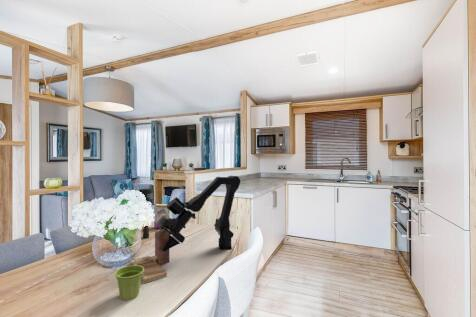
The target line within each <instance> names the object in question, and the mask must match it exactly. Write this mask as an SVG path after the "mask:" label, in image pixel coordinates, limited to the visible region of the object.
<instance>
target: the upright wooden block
mask: <svg viewBox="0 0 476 317" xmlns="http://www.w3.org/2000/svg"><path fill="white" fill-rule="evenodd" d="M168 240H169V232H168V231H166V230H161V231H160V230H157V231H155V232H154V255H152V256H151V255H150V257H147V256H146V257H147V258H143V259H139V260H136V264H137V265H138V264H142V263H146V262H149V261H153V260H154V261H155V262H156V263H157V264H158V265H159V266H161V265H165V264H168V263H170V249H168V250H166V251H165V252H163V251H162V250H163V248H164V246H165V245H166V243H167V242H168Z"/></svg>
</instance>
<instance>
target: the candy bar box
mask: <svg viewBox="0 0 476 317" xmlns="http://www.w3.org/2000/svg"><path fill="white" fill-rule="evenodd" d="M167 204H168V203H156V204H153V205H154V212H155V221H154V222H153V223H154V225H153V226H154V227H153V228H154V229H161V228H160V225H161V224H160V221H161V218H162V217H164V218H167V219H169V218H171V219H173V213H172V212H171V211H170V210H169V209H167V208H166V206H167ZM154 212H153V213H154Z"/></svg>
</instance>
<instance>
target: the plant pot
mask: <svg viewBox="0 0 476 317" xmlns="http://www.w3.org/2000/svg"><path fill="white" fill-rule="evenodd" d="M143 271H144V267H142V266H139V265H126V266H123V267H120V268H119V269H117V270H116V271H115V272H114V277H115V278H116V280H117V285H118V286H117V287H118V293H119V298H120V299H121V300H123V301H124V300H127V301H128V300H129V301H130V300H133V299H135V298H137V297H138V295H139V294H140V288H141V281H142V280H141V276H142V273H143Z"/></svg>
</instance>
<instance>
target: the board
mask: <svg viewBox="0 0 476 317" xmlns="http://www.w3.org/2000/svg"><path fill="white" fill-rule="evenodd" d="M147 257H151V255H147V256H143V257H139V258H134V259H131V260H129V266H131V265H137V264H136V260H139V259H143V258H147ZM138 265H139V266H142V267H144V271H143V273H142V276H141V281H142V283H143V284H146V283H150V282H153V281H156V280H160V279H163V278H165V277H167V276H168V275H167V274H168V272H167V271H166V270H165V269H164V268H162V266H161V265H158V264H157V263H156V262H155V260H153V261H149V262H146V263H142V264H138Z"/></svg>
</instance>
